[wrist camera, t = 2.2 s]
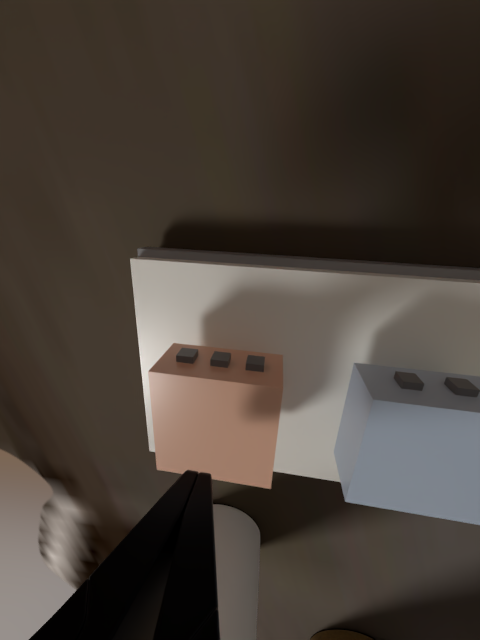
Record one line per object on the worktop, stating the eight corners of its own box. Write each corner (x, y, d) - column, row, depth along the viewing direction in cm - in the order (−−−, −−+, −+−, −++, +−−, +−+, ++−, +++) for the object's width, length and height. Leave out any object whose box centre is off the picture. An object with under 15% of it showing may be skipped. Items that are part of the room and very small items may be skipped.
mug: (252, 498, 20) (217, 832, 9) (272, 554, 22) (264, 884, 11) (140, 504, 23) (4, 778, 11) (168, 554, 25) (74, 829, 13)
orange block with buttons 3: (283, 348, 11) (284, 381, 9) (272, 442, 13) (270, 489, 11) (173, 337, 12) (147, 364, 10) (177, 428, 14) (157, 469, 12)
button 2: (486, 370, 10) (545, 412, 8) (443, 468, 12) (481, 525, 10) (355, 356, 11) (375, 392, 9) (333, 451, 13) (345, 501, 11)
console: (719, 281, 11) (832, 296, 9) (576, 483, 16) (627, 528, 13) (153, 245, 14) (129, 249, 12) (165, 422, 19) (149, 451, 17)
